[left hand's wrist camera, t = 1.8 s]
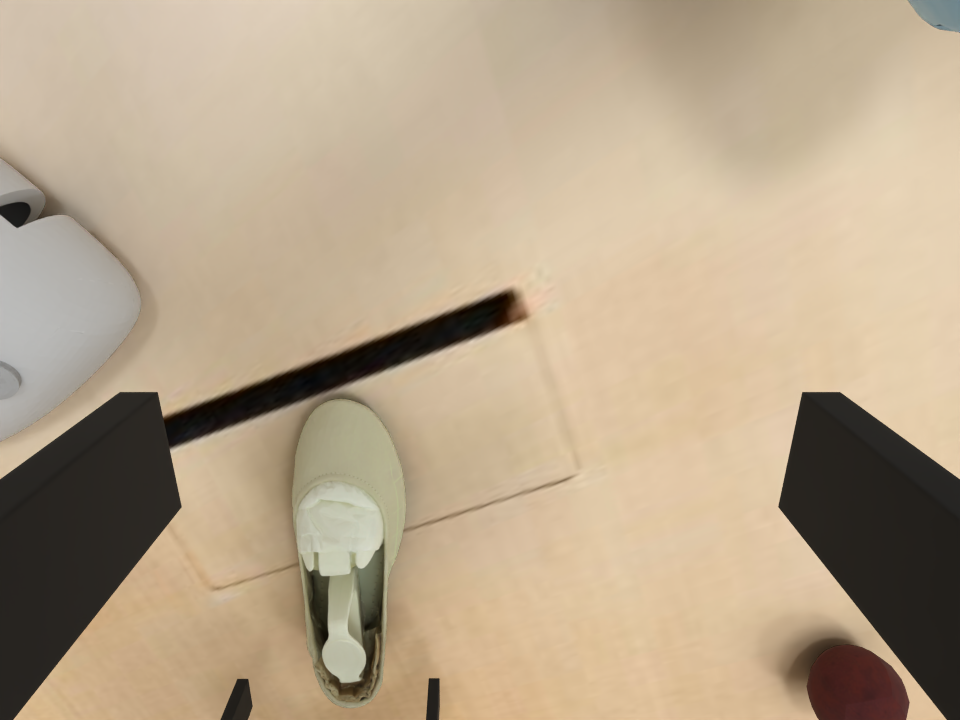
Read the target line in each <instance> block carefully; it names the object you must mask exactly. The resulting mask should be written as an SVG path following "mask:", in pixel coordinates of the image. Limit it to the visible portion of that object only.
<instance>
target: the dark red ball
mask: <svg viewBox="0 0 960 720" xmlns="http://www.w3.org/2000/svg"><path fill="white" fill-rule="evenodd" d="M807 690H808V695H809V699H810V702H811V705H812V708H813V710H814V712H815V714H816V716H817V718H818V719H819V720H906V718H907V713H908V708H909V699H908V696H907V692H906V689H905V686H904V684H903V682H902V680H901V678H900V677H899V675H898V674H897V673H896V672H895V670H894V669H893V668H892V666H891V665H889V664H888V663H887V662H885V661H884V660H883V659H881V658H880V657H878V656H877V655H875V654H874V653H872V652H871V651H869V650H867V649H864V648H862V647H858V646H853V645H838V646H834V647H831V648H829V649H827V650H825V651H824V652H823V653H822V654H820V655H819V657H818V658H817V659H816V661H815V662H814V664H813V665H812V667H811V671H810V675H809V679H808V683H807Z"/></svg>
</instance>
